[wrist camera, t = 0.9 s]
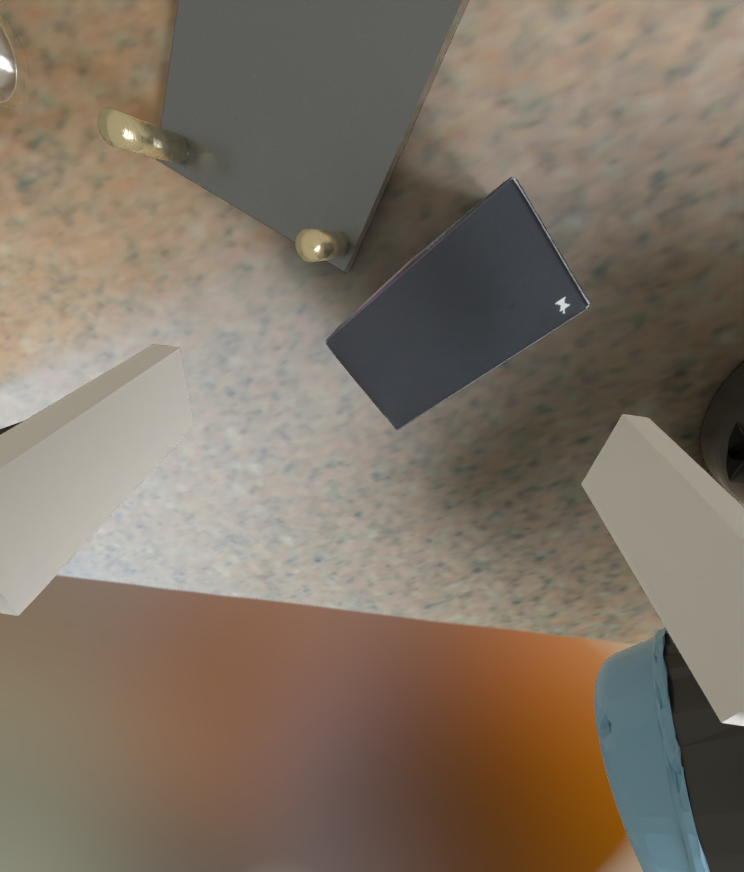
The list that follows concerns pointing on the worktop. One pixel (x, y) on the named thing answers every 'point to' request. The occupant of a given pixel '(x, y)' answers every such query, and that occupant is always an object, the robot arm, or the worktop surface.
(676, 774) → the robot arm
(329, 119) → the chassis
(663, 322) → the worktop surface
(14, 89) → the metal grooved wheel
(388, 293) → the small box
